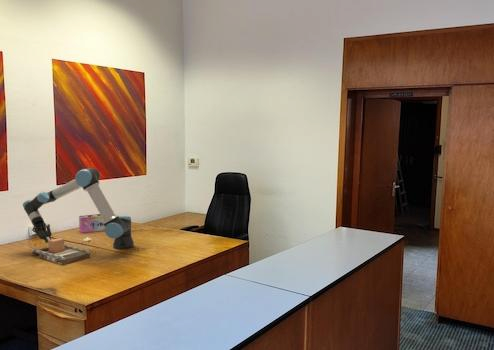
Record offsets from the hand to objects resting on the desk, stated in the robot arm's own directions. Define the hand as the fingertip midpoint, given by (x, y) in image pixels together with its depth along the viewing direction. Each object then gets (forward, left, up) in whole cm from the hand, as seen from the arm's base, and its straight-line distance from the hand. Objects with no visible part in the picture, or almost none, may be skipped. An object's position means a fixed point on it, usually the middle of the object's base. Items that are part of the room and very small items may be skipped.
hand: (50, 245), depth 301 cm
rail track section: (-11, 0, -6) cm, 13 cm away
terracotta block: (-7, 0, -3) cm, 7 cm away
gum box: (+34, -62, -6) cm, 71 cm away
